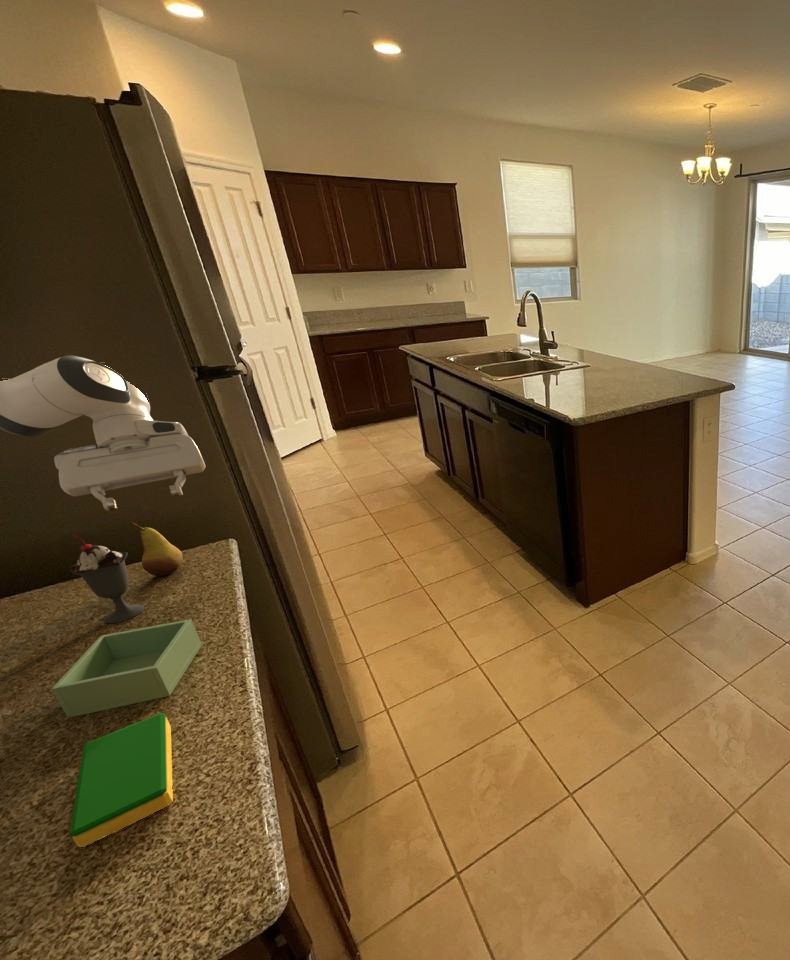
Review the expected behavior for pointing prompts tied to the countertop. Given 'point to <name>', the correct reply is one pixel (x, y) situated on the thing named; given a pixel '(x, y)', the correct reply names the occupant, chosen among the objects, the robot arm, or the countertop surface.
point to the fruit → (158, 553)
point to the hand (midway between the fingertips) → (145, 501)
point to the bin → (128, 668)
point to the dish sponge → (123, 779)
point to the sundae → (106, 578)
